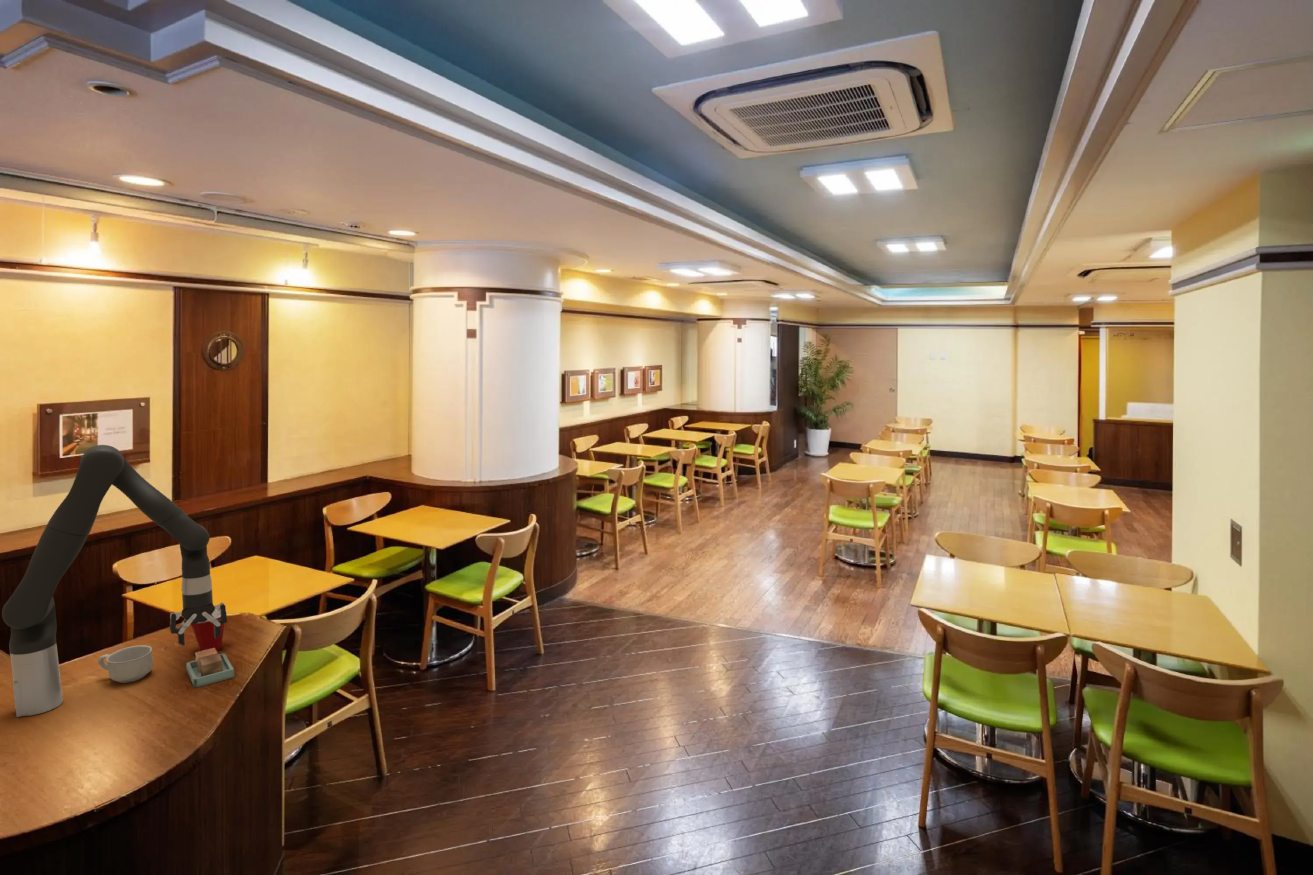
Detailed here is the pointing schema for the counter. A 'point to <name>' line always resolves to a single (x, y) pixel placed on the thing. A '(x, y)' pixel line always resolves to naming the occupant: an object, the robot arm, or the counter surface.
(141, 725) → the counter surface
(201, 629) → the plastic cup
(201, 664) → the walnut cube
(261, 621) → the counter surface
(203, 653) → the terracotta cube
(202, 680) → the tray
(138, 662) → the teacup
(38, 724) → the counter surface
